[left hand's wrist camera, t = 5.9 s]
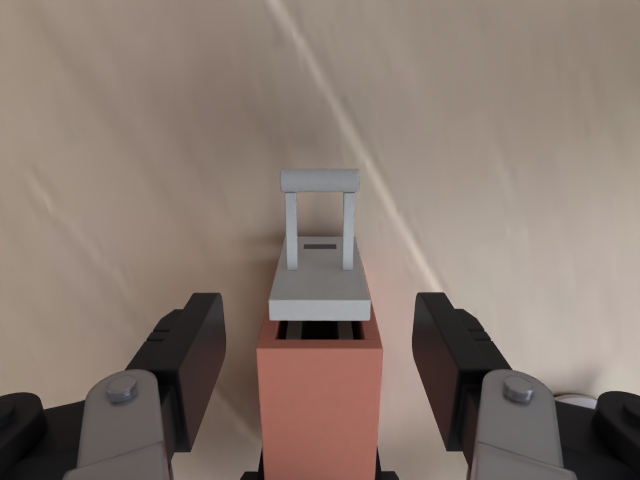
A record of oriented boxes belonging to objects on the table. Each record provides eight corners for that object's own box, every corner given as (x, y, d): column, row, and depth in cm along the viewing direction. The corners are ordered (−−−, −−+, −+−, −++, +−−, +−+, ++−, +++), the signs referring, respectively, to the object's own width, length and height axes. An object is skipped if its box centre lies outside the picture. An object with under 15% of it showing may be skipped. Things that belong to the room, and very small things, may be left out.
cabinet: (278, 259, 30) (255, 348, 20) (361, 259, 30) (383, 349, 20) (285, 430, 36) (270, 571, 25) (354, 430, 36) (368, 571, 25)
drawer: (282, 154, 27) (262, 184, 18) (358, 154, 27) (376, 184, 18) (290, 408, 34) (279, 519, 25) (349, 408, 34) (360, 520, 25)
